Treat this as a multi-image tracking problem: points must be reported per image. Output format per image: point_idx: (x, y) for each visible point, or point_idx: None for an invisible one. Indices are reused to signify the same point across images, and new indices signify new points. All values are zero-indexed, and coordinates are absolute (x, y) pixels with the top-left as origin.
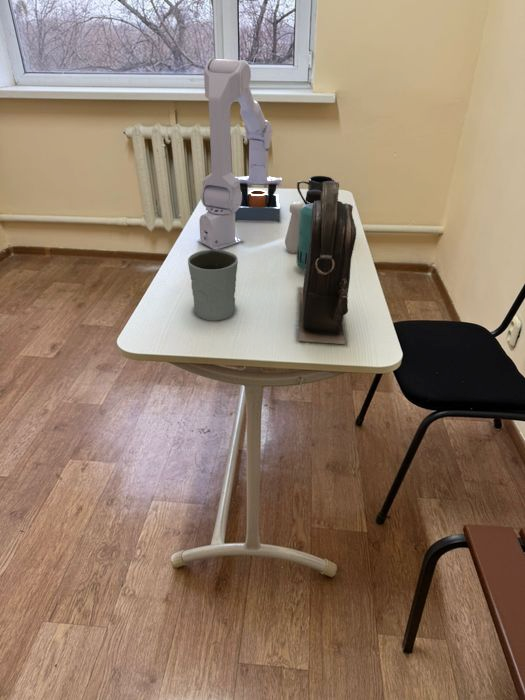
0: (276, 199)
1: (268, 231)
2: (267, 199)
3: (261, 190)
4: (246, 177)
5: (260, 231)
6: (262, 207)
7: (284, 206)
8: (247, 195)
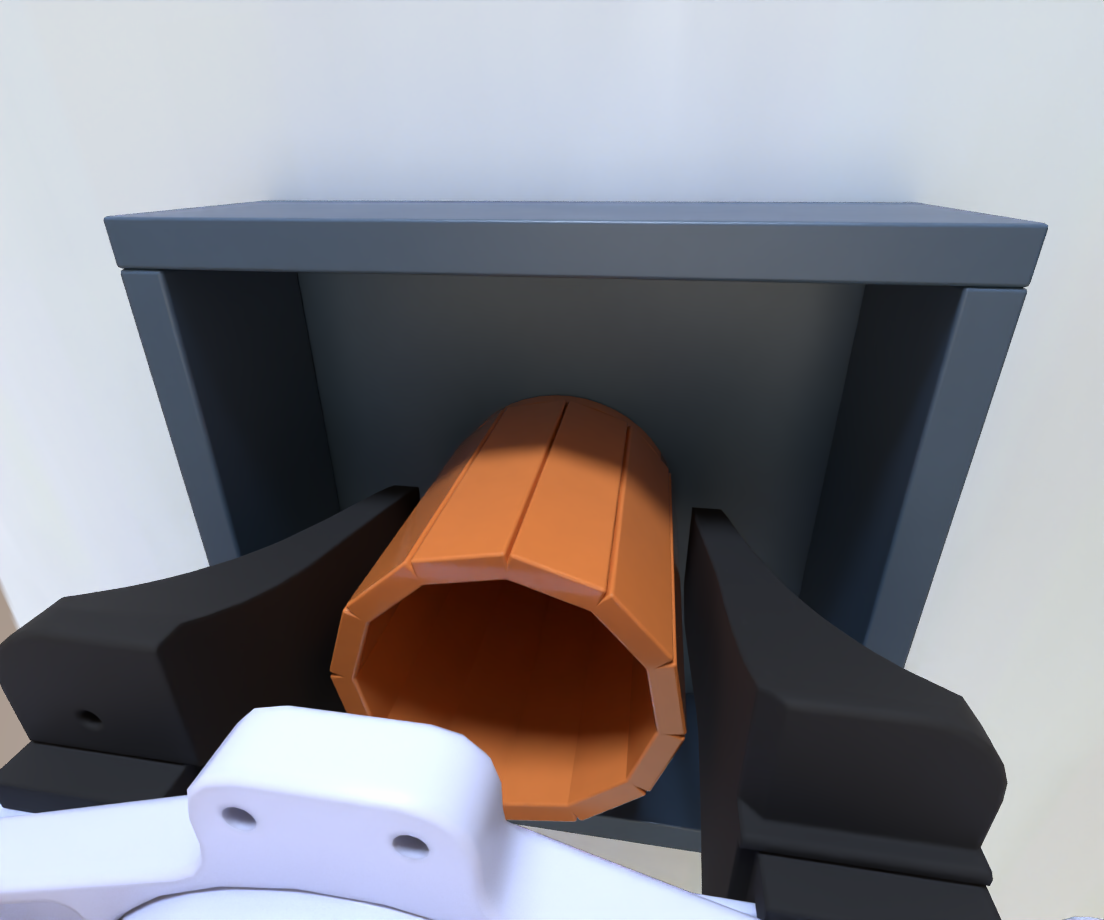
0: (888, 555)
1: (661, 850)
2: (706, 567)
3: (576, 596)
4: (7, 874)
5: (593, 842)
6: (602, 825)
7: (1084, 92)
8: (337, 694)
